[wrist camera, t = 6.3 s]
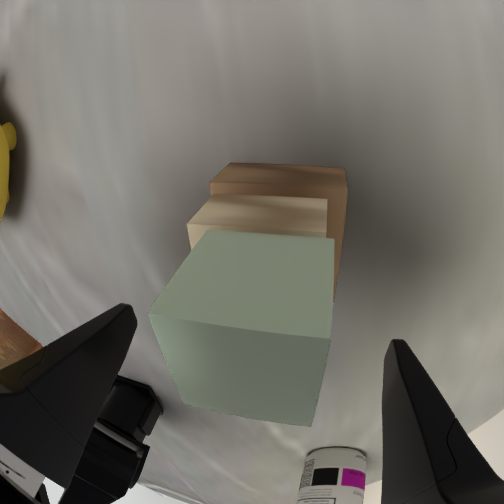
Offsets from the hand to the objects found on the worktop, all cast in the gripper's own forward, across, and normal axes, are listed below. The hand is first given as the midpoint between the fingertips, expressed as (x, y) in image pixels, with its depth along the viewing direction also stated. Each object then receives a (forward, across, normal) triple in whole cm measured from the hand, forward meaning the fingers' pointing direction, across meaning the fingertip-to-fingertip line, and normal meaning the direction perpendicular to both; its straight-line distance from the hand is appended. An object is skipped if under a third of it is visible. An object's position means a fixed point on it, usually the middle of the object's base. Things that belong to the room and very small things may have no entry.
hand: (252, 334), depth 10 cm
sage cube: (+3, 0, 0) cm, 3 cm away
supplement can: (+9, -8, +33) cm, 35 cm away
